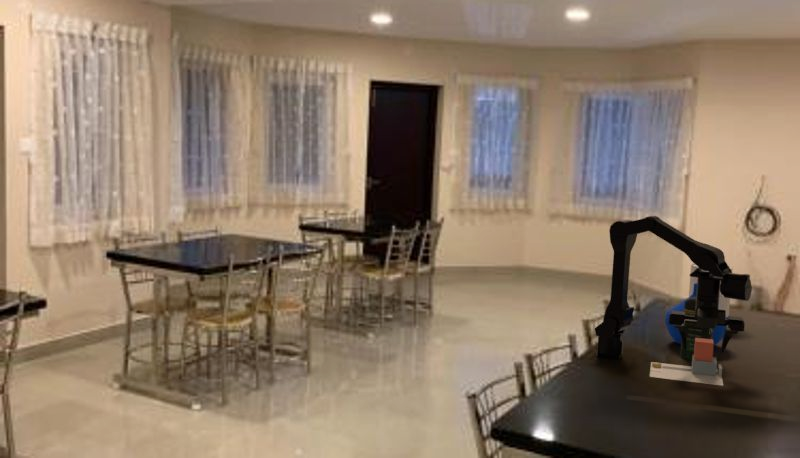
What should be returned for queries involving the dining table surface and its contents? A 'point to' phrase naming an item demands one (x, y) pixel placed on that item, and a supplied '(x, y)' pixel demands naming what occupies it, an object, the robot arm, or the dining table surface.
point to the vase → (674, 332)
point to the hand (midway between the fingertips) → (703, 352)
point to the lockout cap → (703, 349)
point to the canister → (723, 301)
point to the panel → (684, 373)
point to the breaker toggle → (704, 366)
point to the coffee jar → (693, 331)
